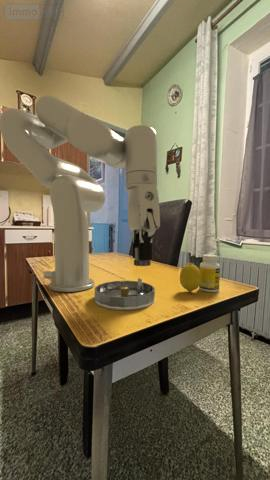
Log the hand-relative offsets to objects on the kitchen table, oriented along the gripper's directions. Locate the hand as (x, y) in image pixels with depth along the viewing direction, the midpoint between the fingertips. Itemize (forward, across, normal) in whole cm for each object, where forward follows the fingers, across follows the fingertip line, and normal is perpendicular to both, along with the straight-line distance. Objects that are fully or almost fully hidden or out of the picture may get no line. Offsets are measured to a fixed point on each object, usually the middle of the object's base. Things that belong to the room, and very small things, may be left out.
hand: (142, 258), depth 53 cm
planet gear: (+2, 0, 0) cm, 2 cm away
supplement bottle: (+10, +1, -21) cm, 23 cm away
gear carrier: (+10, 0, +4) cm, 11 cm away
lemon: (+10, +1, -14) cm, 17 cm away
